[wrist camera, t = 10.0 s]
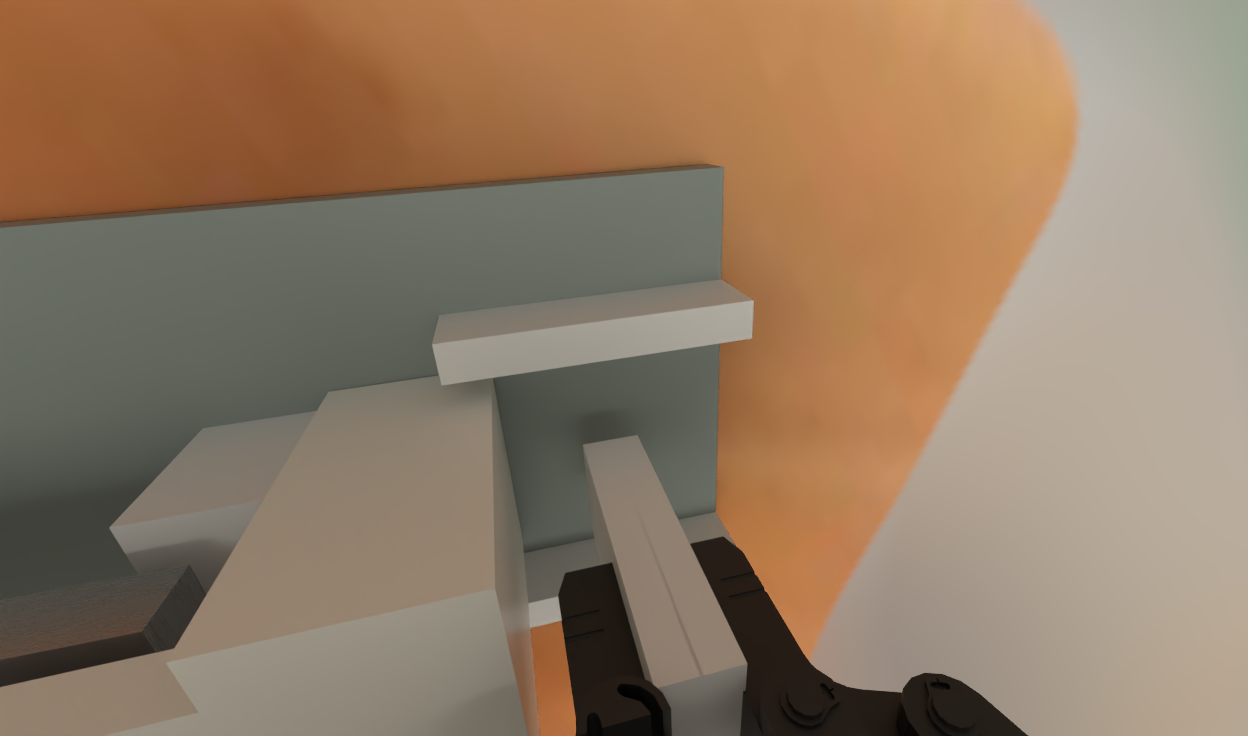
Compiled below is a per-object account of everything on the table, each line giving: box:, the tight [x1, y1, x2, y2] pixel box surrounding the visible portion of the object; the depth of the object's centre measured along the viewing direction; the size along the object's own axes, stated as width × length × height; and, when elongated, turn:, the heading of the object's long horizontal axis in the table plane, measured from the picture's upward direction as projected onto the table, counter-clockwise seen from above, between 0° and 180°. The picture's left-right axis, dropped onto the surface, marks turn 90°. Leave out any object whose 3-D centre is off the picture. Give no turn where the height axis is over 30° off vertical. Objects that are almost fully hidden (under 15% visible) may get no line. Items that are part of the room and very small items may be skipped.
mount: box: [0, 164, 754, 628], centre depth 10 cm, size 31×13×8 cm, turn 94°
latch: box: [0, 375, 540, 736], centre depth 11 cm, size 9×6×8 cm, turn 94°
